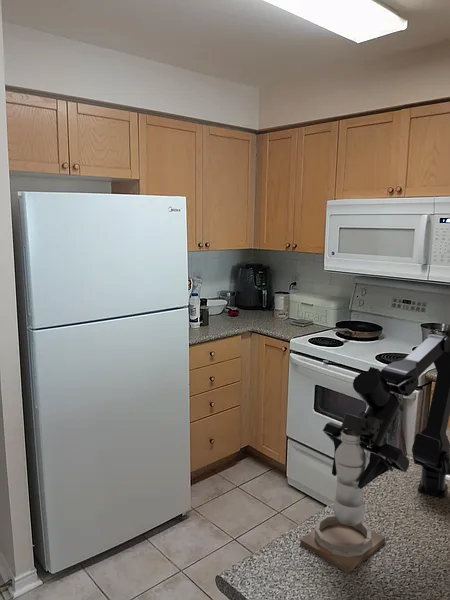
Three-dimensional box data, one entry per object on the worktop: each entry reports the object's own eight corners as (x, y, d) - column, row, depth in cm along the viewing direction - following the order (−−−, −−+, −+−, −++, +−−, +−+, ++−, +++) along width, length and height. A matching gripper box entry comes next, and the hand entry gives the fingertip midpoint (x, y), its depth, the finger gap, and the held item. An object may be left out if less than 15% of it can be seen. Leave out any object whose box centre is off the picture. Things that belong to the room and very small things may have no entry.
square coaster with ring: (338, 517, 113) (338, 505, 112) (384, 542, 104) (385, 528, 103) (300, 544, 103) (300, 530, 103) (347, 573, 94) (348, 558, 94)
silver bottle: (343, 508, 107) (345, 423, 104) (371, 521, 102) (373, 432, 99) (326, 520, 102) (328, 432, 99) (354, 534, 97) (356, 442, 94)
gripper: (328, 387, 108) (294, 448, 103) (403, 411, 93) (368, 483, 88) (349, 411, 114) (318, 470, 109) (423, 438, 99) (391, 507, 94)
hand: (345, 481), depth 100 cm, fingers closed on silver bottle, 6 cm apart
